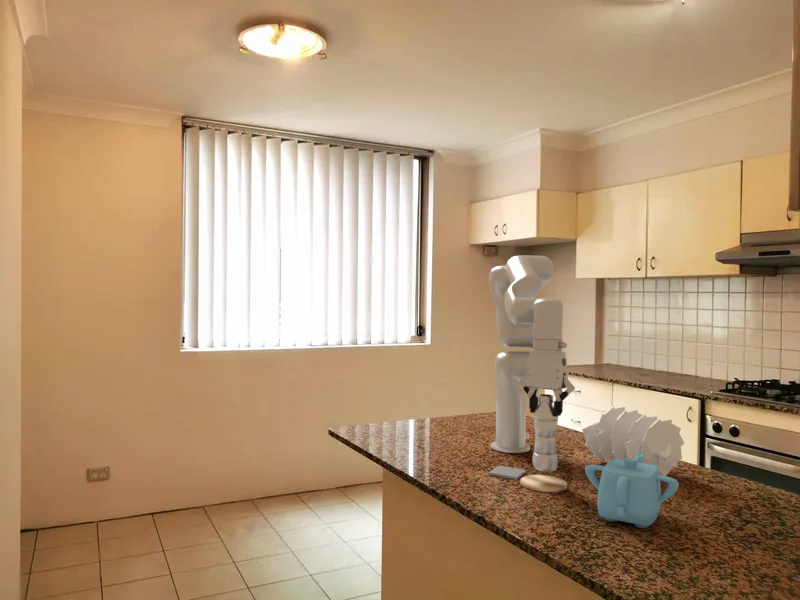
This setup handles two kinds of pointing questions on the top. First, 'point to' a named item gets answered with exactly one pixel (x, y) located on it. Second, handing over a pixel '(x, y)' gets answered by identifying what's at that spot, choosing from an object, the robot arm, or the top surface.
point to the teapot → (630, 490)
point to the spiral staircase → (635, 438)
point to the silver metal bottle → (545, 435)
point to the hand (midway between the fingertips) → (545, 413)
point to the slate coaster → (507, 472)
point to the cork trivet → (544, 483)
